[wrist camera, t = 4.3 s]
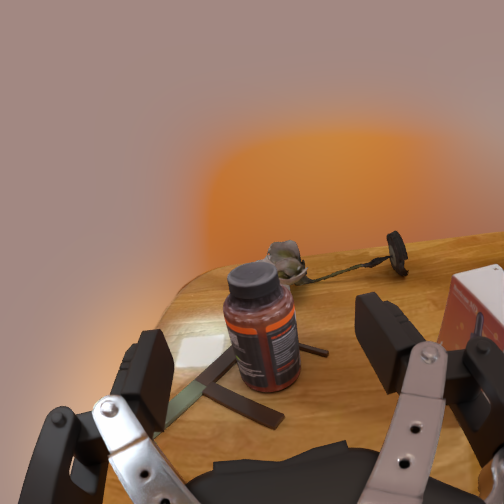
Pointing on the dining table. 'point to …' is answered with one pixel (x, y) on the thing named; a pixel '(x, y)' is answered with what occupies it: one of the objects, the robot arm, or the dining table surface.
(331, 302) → the dining table surface
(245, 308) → the supplement bottle
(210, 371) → the brown green e shape
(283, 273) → the artificial flower
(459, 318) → the small box
